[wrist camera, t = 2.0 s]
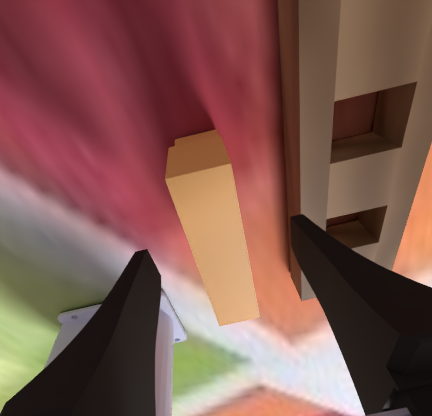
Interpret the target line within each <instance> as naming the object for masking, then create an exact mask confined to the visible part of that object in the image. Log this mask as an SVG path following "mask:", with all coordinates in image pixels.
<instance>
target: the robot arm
mask: <svg viewBox="0 0 432 416" xmlns="http://www.w3.org/2000/svg"><path fill="white" fill-rule="evenodd" d="M290 228H291V247H292V250H293V252H294V255H295V257H296V260H297V262H298V264H299V266H300V268H301V270H302V272H303V274H304V275H305V277H306V279H307V281H308V283H309V285H310V286H311V288H312V290H313V292H314V294H315V295H316V297H317V299H318V301H319V303H320V304H321V306H322V308H323V310H324V312H325V315H326V317H327V319H328V322H329V324H330V326H331V329H332V331H333V333H334V336H335V338H336V340H337V343H338V345H339V348H340V350H341V352H342V355H343V357H344V360H345V363H346V365H347V368H348V370H349V373H350V375H351V378H352V380H353V383H354V386H355V388H356V391H357V394H358V396H359V399H360V402H361V404H362V407H363V410H364V413H365V415H366V416H432V288H431V287H428V286H426V285H423V284H421V283H418V282H416V281H413V280H411V279H408V278H406V277H404V276H402V275H400V274H397V273H395V272H393V271H391V270H389V269H387V268H384V267H382V266H380V265H378V264H377V263H375V262H373V261H371V260H369V259H367V258H365V257H364V256H362V255H360V254H359V253H357V252H355V251H354V250H352V249H350V248H349V247H347V246H346V245H344V244H343V243H341V242H340V241H338V240H337V239H335V238H334V237H333V236H331V235H330V234H328V233H327V232H326V231H324V230H323V229H322V228H320V227H319V226H318V225H316V224H315V223H314V222H313V221H311V220H310V219H309V218H307V217H306V216H305V215H303V214H300V215H295V216H291V217H290ZM57 319H58V321H59V322H60V323H61V324H62V326H61V328H60V331H59V333H58V336H57V338H56V340H55V343H54V345H53V348H52V350H51V353H50V355H49V357H48V360H47V362H46V365H45V367H44V369H43V370H42V371H41V372H40V373H39V374H38V375H37V376H36V377H35V378H34V379H33V380H32V381H30V382H29V383H28V384H27V385H26V386H25V387H24V388H22V389H21V390H20V391H19V392H18V393H17V394H16V395H14V396H13V397H12V398H11V399H10V400H9V401H7V402H6V403H5V405H4V407H3V409H2V411H1V413H0V416H172V385H173V351H174V343H176V342H181V341H185V340H186V339H187V334H186V332H185V330H184V328H183V326H182V325H181V323H180V321H179V319H178V317H177V315H176V313H175V311H174V310H173V308H172V306H171V304H170V302H169V300H168V298H167V297H166V295H165V293H164V292H162V291H161V275H160V273H159V271H158V269H157V267H156V265H155V263H154V261H153V259H152V258H151V256H150V254H149V252H148V250H147V249H146V250H141V251H137V252H135V253H134V255H133V256H132V258H131V260H130V261H129V263H128V265H127V266H126V268H125V269H124V271H123V273H122V274H121V276H120V278H119V279H118V281H117V282H116V284H115V285H114V287H113V289H112V290H111V292H110V293H109V294H108V296H107V297H106V299H105V300H104V302H103V303H102V304H99V305H94V306H90V307H86V308H81V309H77V310H72V311H68V312H63V313H60V314H59V316H58V318H57Z"/></svg>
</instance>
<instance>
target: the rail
mask: <svg viewBox="0 0 432 416" xmlns="http://www.w3.org/2000/svg"><path fill="white" fill-rule="evenodd" d="M277 2H278V22H279V43H280V64H281V85H282V105H283V126H284V147H285V168H286V189H287V209H288V230H289V251H290V272H291V278H292V280H293V283H294V285H295V287H296V289H297V292H298V294H299V296H300V298H301V301H303V300H308V299H312V298H317V297H316V295H315V294H314V292H313V290H312V288H311V286H310V285H309V283H308V281H307V279H306V277H305V275H304V274H303V272H302V270H301V268H300V266H299V264H298V262H297V260H296V257H295V255H294V252H293V250H292V247H291V228H290V217H291V216H295V215H300V214H303V215H305V216H306V217H307V218H309V219H310V220H311V221H313V222H314V223H315V224H316V225H318V226H319V227H320V228H322V229H323V230H324V231H326V232H327V233H328V234H330V235H331V236H333V237H334V238H335V239H337V240H338V241H340V242H341V243H343V244H344V245H346V246H347V247H349V248H350V249H352V250H354V251H355V252H357V253H359V254H360V255H362V256H364V257H365V258H367V259H369V260H371V261H373V262H375V263H377V264H378V265H380V266H382V267H384V268H387V269H389V270H391V271H392V268H393V265H394V261H395V258H396V255H397V252H398V249H399V245H400V242H401V239H402V236H403V232H404V229H405V226H406V223H407V219H408V216H409V213H410V210H411V207H412V203H413V200H414V197H415V194H416V190H417V187H418V184H419V181H420V178H421V174H422V171H423V168H424V165H425V161H426V158H427V155H428V152H429V149H430V145H431V142H432V0H277ZM376 91H379V94H378V100H377V106H376V113H375V119H374V125H373V131H372V132H370V133H366V134H362V135H358V136H353V137H349V138H345V139H341V140H337V141H332V129H333V114H334V101H338V100H343V99H347V98H351V97H355V96H359V95H363V94H367V93H371V92H376ZM356 212H359V217H358V220H357V221H352V222H348V223H344V224H339V225H335V226H331V227H326V219H329V218H334V217H338V216H342V215H347V214H351V213H356Z"/></svg>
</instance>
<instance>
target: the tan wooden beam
mask: <svg viewBox="0 0 432 416" xmlns="http://www.w3.org/2000/svg"><path fill="white" fill-rule="evenodd" d="M165 181H166V183H167V186H168V189H169V191H170V194H171V197H172V200H173V202H174V205H175V208H176V210H177V213H178V216H179V218H180V221H181V224H182V226H183V229H184V232H185V234H186V237H187V240H188V243H189V245H190V248H191V251H192V253H193V256H194V259H195V261H196V264H197V267H198V269H199V272H200V275H201V277H202V280H203V283H204V286H205V288H206V291H207V294H208V296H209V299H210V302H211V304H212V307H213V310H214V312H215V315H216V318H217V320H218V323H219V326H223V325H227V324H232V323H236V322H241V321H246V320H250V319H255V318H259V317H260V315H259V310H258V305H257V299H256V294H255V289H254V283H253V278H252V272H251V267H250V262H249V256H248V251H247V246H246V240H245V235H244V230H243V224H242V219H241V214H240V208H239V203H238V198H237V192H236V187H235V182H234V176H233V171H232V166H231V162H230V159H229V157H228V154H227V151H226V148H225V146H224V143H223V140H222V138H221V135H218V133H217V130H211V131H207V132H203V133H199V134H195V135H191V136H187V137H183V138H178V139H175V146H173V147H169V150H168V158H167V166H166V174H165Z"/></svg>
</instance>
